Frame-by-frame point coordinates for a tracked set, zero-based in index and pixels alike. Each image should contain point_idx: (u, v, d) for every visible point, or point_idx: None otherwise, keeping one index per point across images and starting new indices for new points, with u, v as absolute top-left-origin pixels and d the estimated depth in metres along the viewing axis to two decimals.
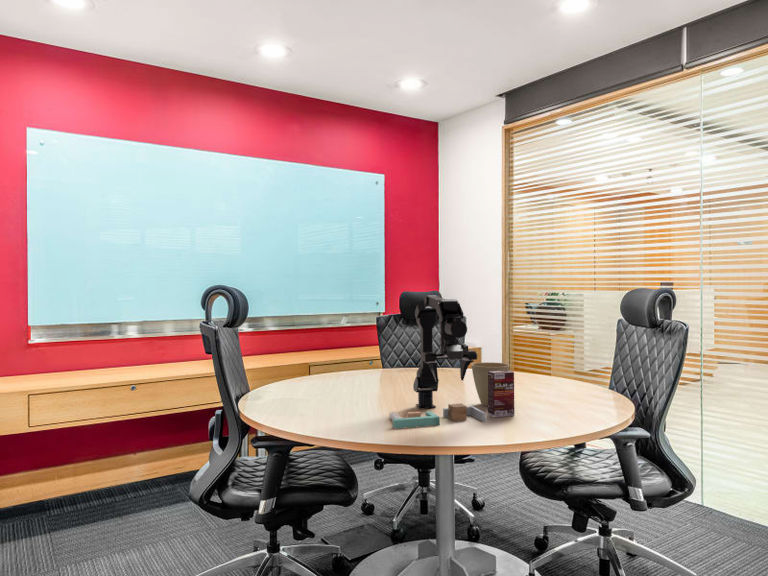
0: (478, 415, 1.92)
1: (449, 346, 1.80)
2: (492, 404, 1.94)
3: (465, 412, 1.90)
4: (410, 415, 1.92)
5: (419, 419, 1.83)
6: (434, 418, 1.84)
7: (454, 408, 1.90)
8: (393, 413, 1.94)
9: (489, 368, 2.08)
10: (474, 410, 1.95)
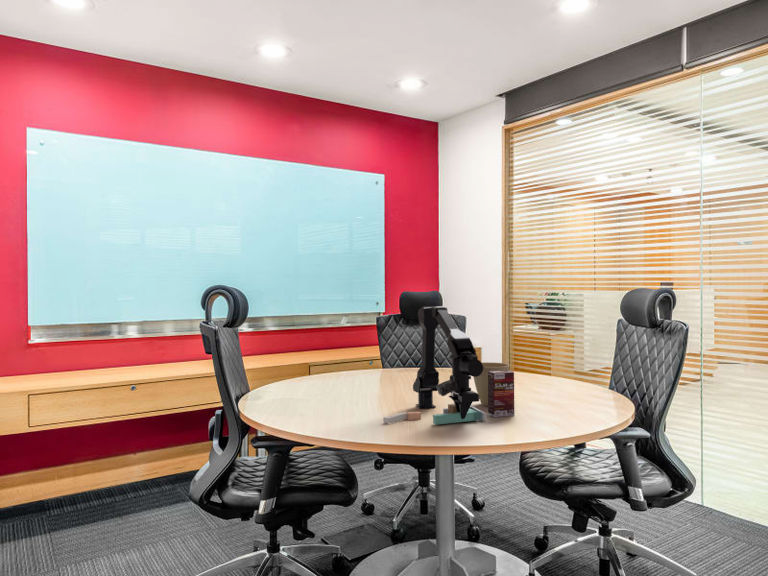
0: (478, 415, 1.92)
1: (445, 382, 1.88)
2: (492, 404, 1.94)
3: None
4: (410, 415, 1.92)
5: (459, 414, 1.86)
6: (473, 413, 1.87)
7: (454, 408, 1.90)
8: (400, 413, 1.93)
9: (489, 368, 2.08)
10: None
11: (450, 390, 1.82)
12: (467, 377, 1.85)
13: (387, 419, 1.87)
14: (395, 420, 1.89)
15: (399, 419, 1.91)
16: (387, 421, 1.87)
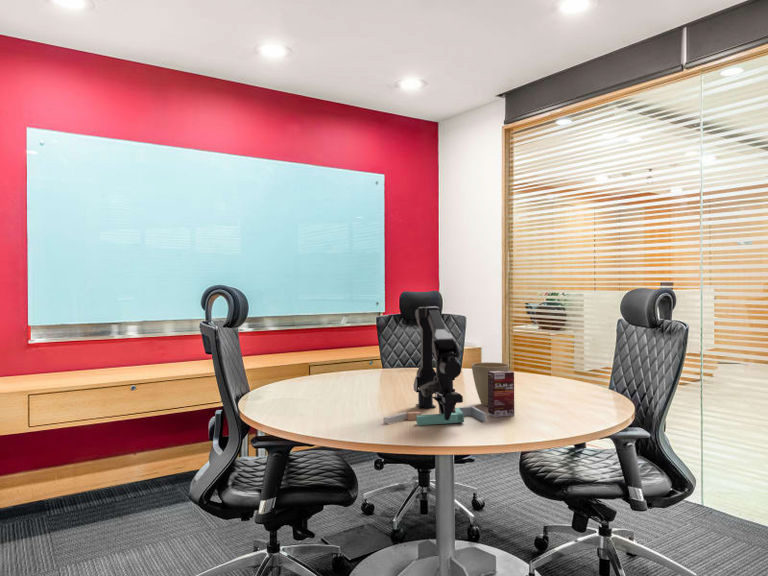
0: (478, 415, 1.92)
1: (429, 383, 1.86)
2: (492, 404, 1.94)
3: (454, 412, 1.90)
4: (410, 415, 1.92)
5: (442, 416, 1.85)
6: (458, 415, 1.85)
7: None
8: (400, 413, 1.93)
9: (489, 368, 2.08)
10: (474, 410, 1.95)
11: (433, 391, 1.80)
12: (451, 378, 1.84)
13: (388, 419, 1.87)
14: (395, 420, 1.89)
15: (399, 419, 1.91)
16: (387, 421, 1.87)
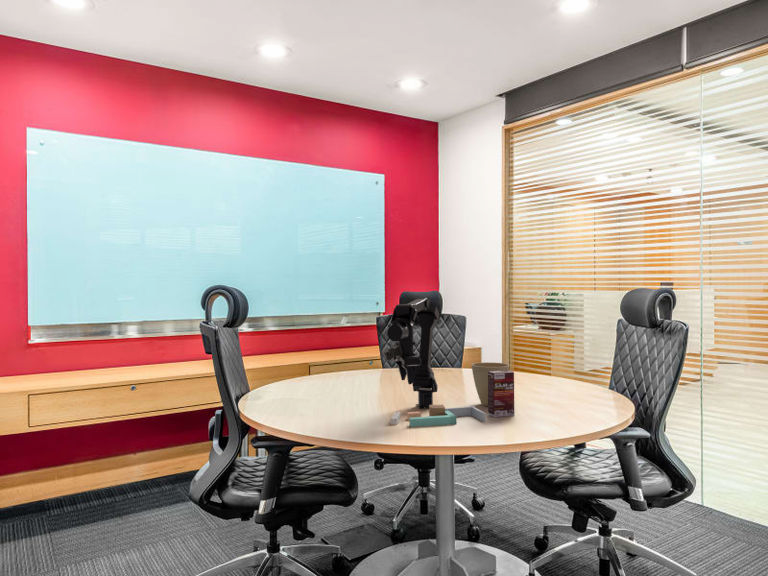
0: (478, 415, 1.92)
1: (391, 347, 1.95)
2: (492, 404, 1.94)
3: (443, 413, 1.89)
4: (410, 415, 1.92)
5: (436, 418, 1.84)
6: (451, 417, 1.85)
7: (432, 409, 1.89)
8: (396, 413, 1.94)
9: (489, 368, 2.08)
10: (474, 410, 1.95)
11: (394, 354, 1.90)
12: (411, 343, 1.93)
13: (396, 420, 1.86)
14: (398, 420, 1.89)
15: (399, 419, 1.91)
16: (395, 421, 1.86)
